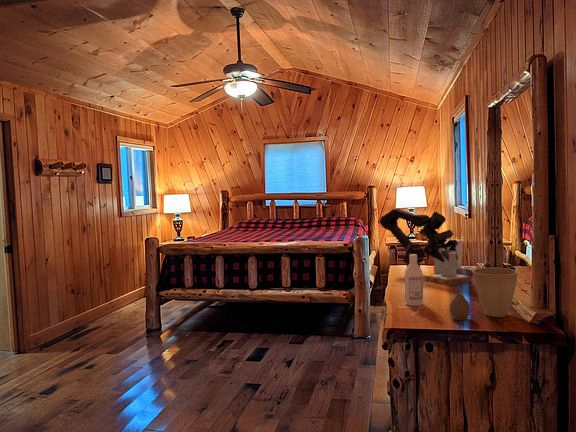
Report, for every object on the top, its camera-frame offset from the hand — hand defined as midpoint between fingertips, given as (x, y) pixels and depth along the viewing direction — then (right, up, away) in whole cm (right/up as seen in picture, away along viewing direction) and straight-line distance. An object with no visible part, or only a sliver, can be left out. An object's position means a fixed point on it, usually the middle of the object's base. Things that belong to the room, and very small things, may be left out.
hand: (450, 260), depth 226 cm
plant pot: (-2, -15, -54) cm, 56 cm away
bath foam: (-27, -14, -35) cm, 47 cm away
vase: (-16, -16, -57) cm, 61 cm away
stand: (0, -10, +2) cm, 10 cm away
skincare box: (+9, -8, +28) cm, 31 cm away
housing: (0, -8, +2) cm, 8 cm away
